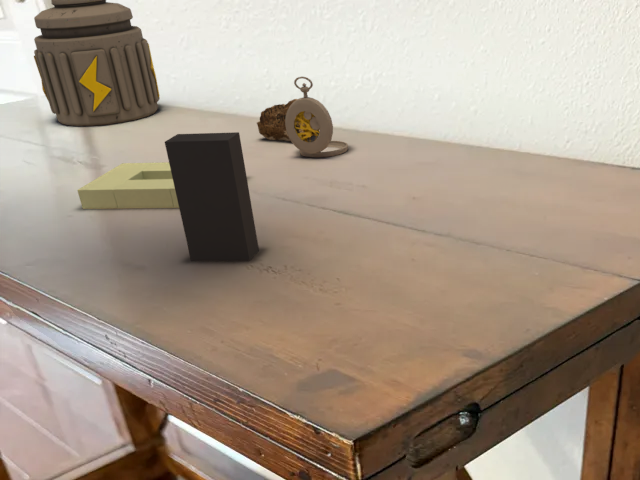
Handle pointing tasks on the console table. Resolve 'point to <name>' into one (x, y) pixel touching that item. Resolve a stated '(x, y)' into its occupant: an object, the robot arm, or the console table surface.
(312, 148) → the pocket watch
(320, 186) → the console table surface
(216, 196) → the back pad
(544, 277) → the console table surface
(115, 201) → the seat pad
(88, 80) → the grey power cell canister
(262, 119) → the rock sample
